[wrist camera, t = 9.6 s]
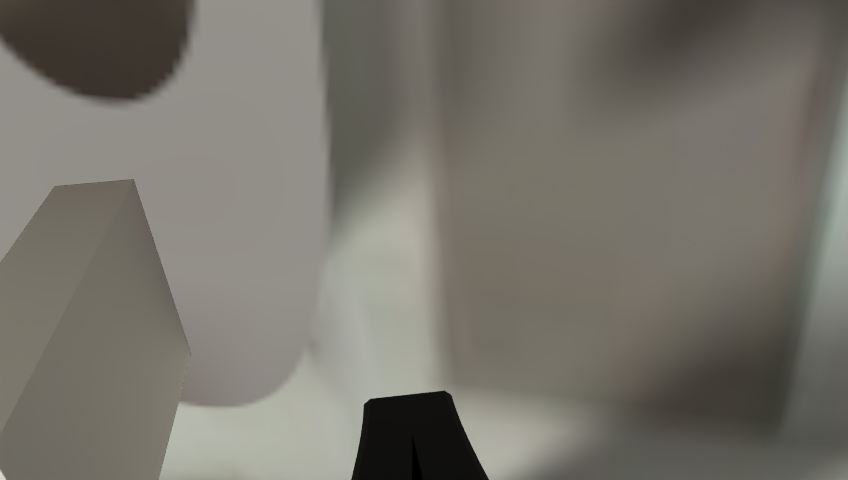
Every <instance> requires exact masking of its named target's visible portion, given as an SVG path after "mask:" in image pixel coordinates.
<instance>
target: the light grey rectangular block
mask: <svg viewBox="0 0 848 480" xmlns="http://www.w3.org/2000/svg"><path fill="white" fill-rule="evenodd" d="M190 357H191V352H190V349H189V346H188V343H187V340H186V337H185V334H184V331H183V328H182V325H181V322H180V319H179V316H178V313H177V310H176V307H175V304H174V301H173V298H172V295H171V292H170V288H169V286H168V283H167V279H166V277H165V273H164V270H163V267H162V264H161V261H160V258H159V255H158V252H157V249H156V246H155V243H154V240H153V237H152V234H151V231H150V228H149V225H148V222H147V219H146V216H145V213H144V210H143V207H142V204H141V201H140V197H139V195H138V192H137V188H136V185H135V183H134V180H133V179H131V180H120V181H110V182H98V183H87V184H75V185H64V186H55V187H54V188H53V190H52V191H51V193H50V194H49V195H48V197H47V198H46V199H45V201H44V202H43V204H42V205H41V206H40V208H39V209H38V211H37V212H36V213H35V215H34V216H33V218H32V219H31V221H30V222H29V223H28V225H27V226H26V228H25V229H24V231H23V232H22V233H21V235H20V236H19V237H18V239H17V240H16V242H15V243H14V244H13V246H12V247H11V249H10V250H9V252H8V253H7V254H6V256H5V257H4V259H3V260H2V261H1V263H0V480H159V476H160V472H161V468H162V464H163V460H164V456H165V453H166V449H167V445H168V441H169V437H170V433H171V430H172V426H173V422H174V418H175V414H176V410H177V407H178V403H179V399H180V395H181V391H182V387H183V384H184V379H185V376H186V372H187V368H188V364H189V360H190Z"/></svg>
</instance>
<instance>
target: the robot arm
mask: <svg viewBox="0 0 848 480" xmlns="http://www.w3.org/2000/svg"><path fill="white" fill-rule="evenodd" d="M351 480H489V479H488V477H487V475H486V473H485V471H484V470H483V468H482V466H481V464H480V462H479V460H478V458H477V456H476V454H475V452H474V450H473V448H472V446H471V444H470V442H469V439H468V437H467V435H466V433H465V431H464V428H463V426H462V424H461V421H460V419H459V416H458V413H457V411H456V408H455V405H454V402H453V399H452V396H451V395H450V394H449V393H447V392H446V391H438V392H429V393H420V394H411V395H402V396H393V397H384V398H375V399H370V400H369V401H368V402H366V403H365V404H364V413H363V424H362V431H361V437H360V443H359V448H358V453H357V458H356V462H355V467H354V471H353V475H352V479H351Z"/></svg>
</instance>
